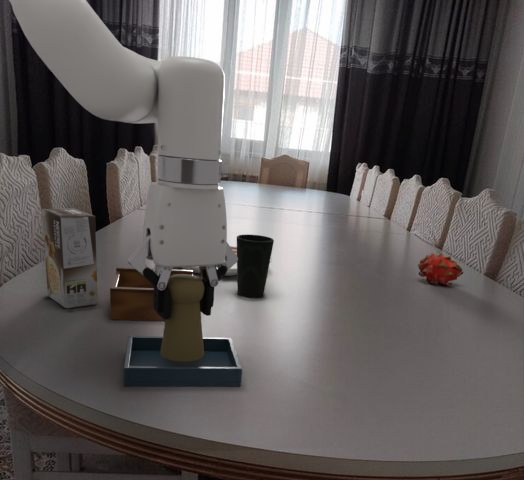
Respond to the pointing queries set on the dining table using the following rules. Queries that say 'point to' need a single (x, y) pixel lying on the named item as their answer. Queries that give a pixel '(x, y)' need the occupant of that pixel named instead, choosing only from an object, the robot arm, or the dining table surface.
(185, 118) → the robot arm
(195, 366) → the tray
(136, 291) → the brown wooden open box
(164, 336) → the cork
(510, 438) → the dining table surface
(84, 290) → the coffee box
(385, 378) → the dining table surface
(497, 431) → the dining table surface
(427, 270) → the dragon fruit
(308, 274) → the dining table surface
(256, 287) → the cup
